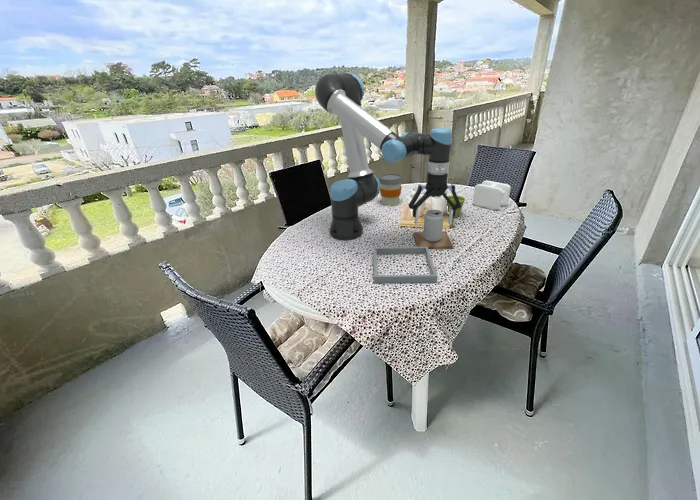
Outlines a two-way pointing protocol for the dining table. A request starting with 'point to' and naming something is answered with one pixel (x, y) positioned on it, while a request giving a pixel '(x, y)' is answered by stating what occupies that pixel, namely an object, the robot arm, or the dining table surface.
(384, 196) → the reusable coffee cup
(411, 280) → the gray square frame
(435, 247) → the pad
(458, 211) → the plant pot
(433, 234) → the can
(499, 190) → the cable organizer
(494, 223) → the dining table surface
